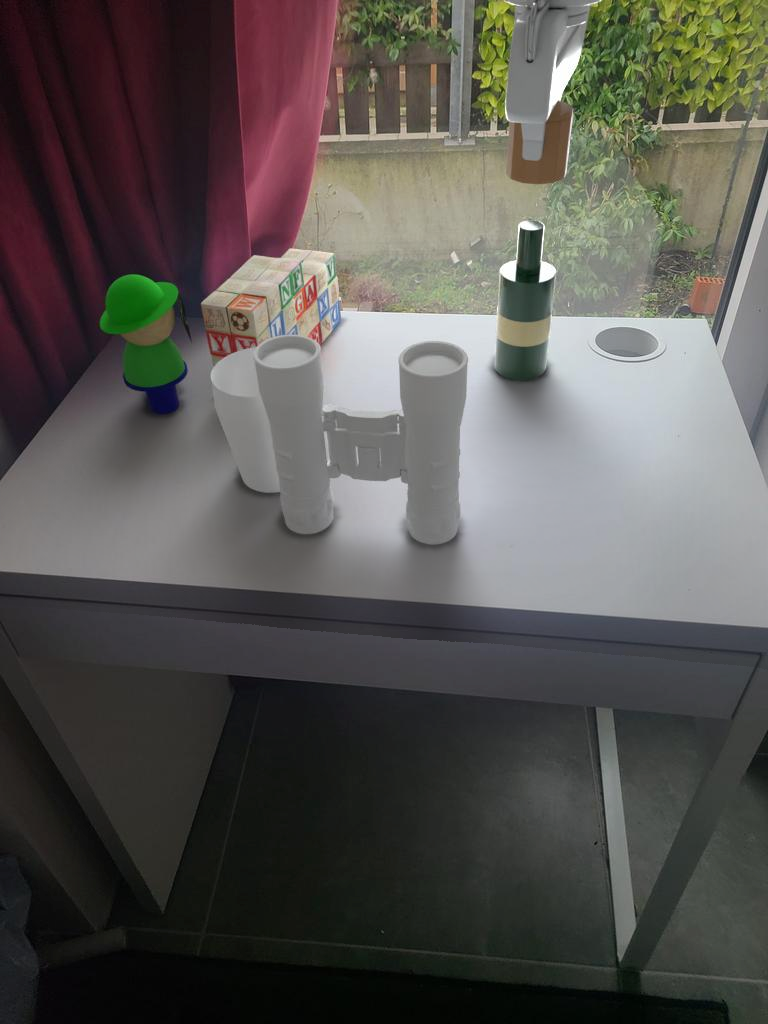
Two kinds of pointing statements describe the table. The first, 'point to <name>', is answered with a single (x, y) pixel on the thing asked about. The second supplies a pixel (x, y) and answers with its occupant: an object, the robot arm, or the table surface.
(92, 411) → the table surface
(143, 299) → the toy
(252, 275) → the stack of blocks
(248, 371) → the cup
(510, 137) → the brown cylinder
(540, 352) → the bottle
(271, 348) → the binoculars
